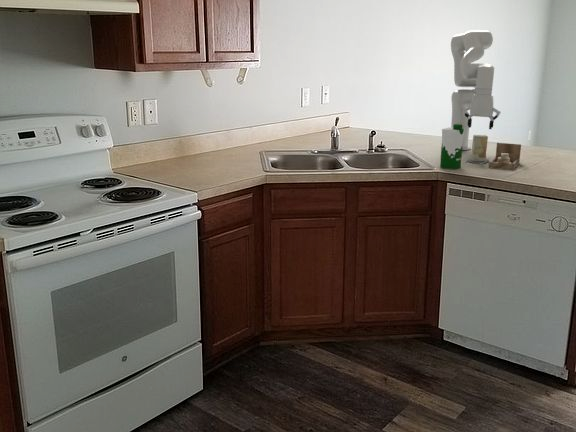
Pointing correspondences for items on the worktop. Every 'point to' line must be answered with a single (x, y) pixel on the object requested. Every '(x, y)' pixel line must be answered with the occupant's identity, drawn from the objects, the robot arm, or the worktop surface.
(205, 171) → the worktop surface
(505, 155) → the offcut top
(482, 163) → the slate coaster
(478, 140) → the skincare box
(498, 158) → the offcut mid
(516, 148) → the walnut rack
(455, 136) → the milk carton
